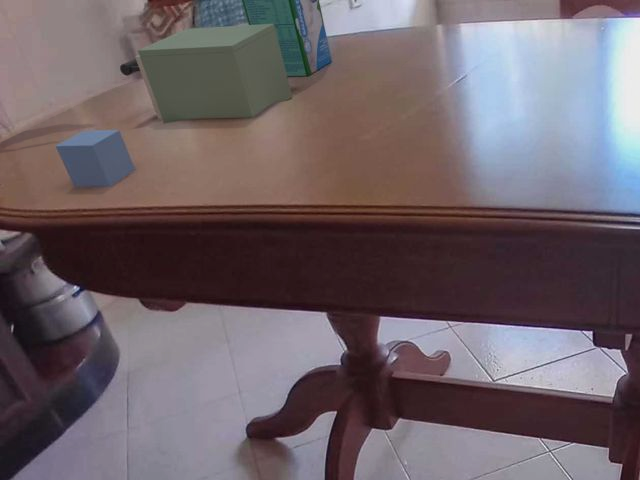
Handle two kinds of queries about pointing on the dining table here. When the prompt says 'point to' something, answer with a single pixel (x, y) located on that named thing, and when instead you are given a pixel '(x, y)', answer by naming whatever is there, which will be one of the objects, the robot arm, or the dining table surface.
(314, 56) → the milk carton
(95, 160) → the block
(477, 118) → the dining table surface
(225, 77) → the cabinet
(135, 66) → the drawer
